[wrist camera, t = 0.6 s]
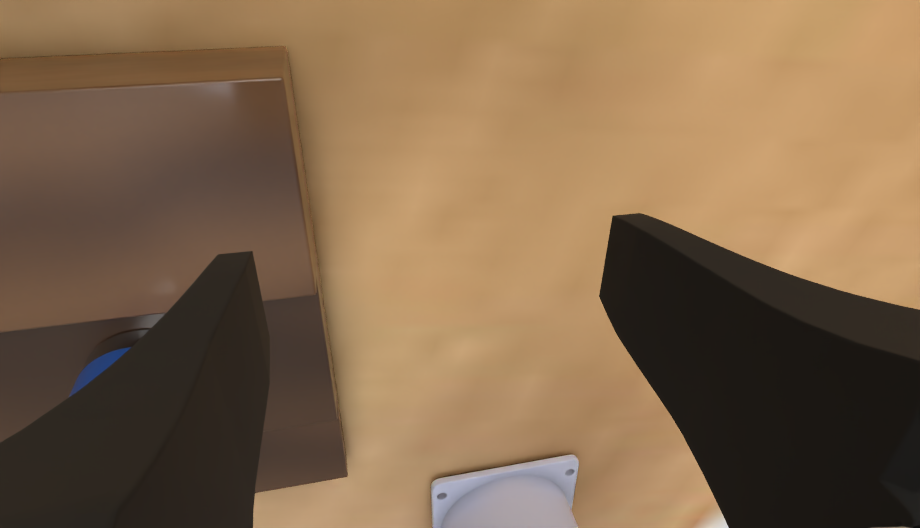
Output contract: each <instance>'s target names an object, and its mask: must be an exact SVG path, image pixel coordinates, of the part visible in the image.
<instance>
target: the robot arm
mask: <svg viewBox="0 0 920 528" xmlns="http://www.w3.org/2000/svg"><path fill="white" fill-rule="evenodd" d="M599 297H600V299H601V302H602V304H603V306H604V308H605V311H606V313H607V315H608V317H609V319H610V321H611V323H612V326H613V328H614V330H615V332H616V334H617V335H618V337H619V339H620V340H621V342H622V343H623V345H624V346H625V348H626V349H627V351H628V352H629V354H630V355H631V357H632V358H633V360H634V361H635V363H636V364H637V366H638V367H639V369H640V370H641V372H642V373H643V375H644V376H645V378H646V379H647V381H648V382H649V384H650V385H651V387H652V388H653V389H654V391H655V392H656V394H657V395H658V397H659V398H660V400H661V401H662V403H663V404H664V406H665V407H666V409H667V410H668V412H669V413H670V415H671V416H672V418H673V419H674V421H675V423H676V424H677V426H678V428H679V429H680V431H681V433H682V434H683V436H684V438H685V440H686V442H687V444H688V446H689V448H690V450H691V451H692V453H693V455H694V457H695V459H696V461H697V463H698V465H699V467H700V469H701V470H702V472H703V474H704V476H705V478H706V481H707V483H708V485H709V487H710V489H711V491H712V493H713V495H714V497H715V499H716V501H717V503H718V505H719V507H720V510H721V512H722V514H723V516H724V518H725V520H726V522H727V525H728V527H729V528H920V310H918V309H913V308H908V307H903V306H899V305H895V304H891V303H887V302H882V301H878V300H874V299H870V298H866V297H862V296H858V295H854V294H851V293H847V292H844V291H840V290H837V289H833V288H830V287H827V286H824V285H821V284H818V283H814V282H811V281H808V280H805V279H802V278H799V277H796V276H793V275H790V274H787V273H785V272H782V271H779V270H777V269H774V268H771V267H769V266H766V265H764V264H761V263H759V262H756V261H753V260H751V259H749V258H746V257H744V256H741V255H739V254H737V253H734V252H732V251H730V250H727V249H725V248H723V247H720V246H718V245H716V244H714V243H711V242H709V241H707V240H705V239H702V238H700V237H698V236H696V235H693V234H691V233H689V232H687V231H684V230H682V229H680V228H678V227H675V226H673V225H671V224H668V223H666V222H663V221H661V220H658V219H656V218H653V217H650V216H647V215H644V214H640V213H638V214H627V215H617V216H613V217H612V223H611V229H610V235H609V241H608V247H607V253H606V259H605V265H604V271H603V277H602V283H601V289H600V295H599ZM269 384H270V335H269V330H268V326H267V321H266V316H265V311H264V306H263V301H262V296H261V291H260V286H259V281H258V276H257V271H256V266H255V261H254V256H253V251H246V252H236V253H226V254H218V255H217V256H216V257H215V258H214V259H213V261H212V262H211V263H210V264H209V265H208V266H207V267H206V268H205V270H204V271H203V272H202V273H201V274H200V275H199V277H198V278H197V279H196V280H195V281H194V282H193V284H192V285H191V286H190V287H189V288H188V289H187V290H186V292H185V293H184V294H183V295H182V296H181V297H180V298H179V299H178V301H177V302H176V303H175V304H174V305H173V306H172V307H171V308H170V309H169V310H168V312H167V313H166V314H165V315H164V316H163V317H162V318H161V319H160V320H159V321H158V322H157V323H156V324H155V325H154V326H153V327H152V328H151V329H150V330H149V331H148V332H147V333H146V334H145V335H144V336H143V337H141V338H140V339H139V340H138V341H137V342H136V343H135V344H134V345H133V346H132V347H131V348H130V349H129V350H128V351H127V352H126V353H124V354H123V355H122V356H121V357H120V358H119V359H118V360H116V361H115V362H114V363H113V364H112V365H111V366H109V367H108V368H107V369H106V370H104V371H103V372H102V373H100V374H99V375H98V376H97V377H95V378H94V379H93V380H92V381H90V382H89V383H88V384H87V385H85V386H84V387H83V388H81V389H80V390H79V391H77V392H76V393H75V394H73V395H72V396H70V397H69V398H67V399H66V400H64V401H63V402H61V403H60V404H58V405H57V406H56V407H54V408H53V409H51V410H50V411H48V412H47V413H45V414H44V415H42V416H41V417H40V418H38V419H37V420H35V421H34V422H32V423H31V424H29V425H28V426H26V427H25V428H23V429H22V430H20V431H19V432H17V433H15V434H14V435H12V436H10V437H9V438H7V439H5V440H4V441H2V442H0V528H253V506H254V495H255V485H256V478H257V470H258V463H259V456H260V449H261V442H262V435H263V428H264V421H265V414H266V407H267V399H268V392H269ZM578 468H579V461H578V459H577V457H576V456H575V455H565V456H559V457H554V458H548V459H543V460H537V461H532V462H526V463H520V464H515V465H509V466H504V467H498V468H493V469H487V470H482V471H476V472H471V473H465V474H460V475H454V476H449V477H443V478H439V479H436V480H434V481H433V482H432V484H431V507H432V528H579V527H578V525H577V523H576V520H575V518H574V516H573V513H572V511H571V509H572V503H573V497H574V491H575V485H576V480H577V474H578Z"/></svg>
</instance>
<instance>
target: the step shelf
mask: <svg viewBox="0 0 920 528" xmlns="http://www.w3.org/2000/svg"><path fill="white" fill-rule="evenodd" d="M246 251H253V256H254V261H255V266H256V271H257V276H258V281H259V286H260V291H261V296H262V301H263V306H264V311H265V316H266V321H267V326H268V330H269V335H270V384H269V392H268V399H267V407H266V414H265V421H264V428H263V435H262V442H261V449H260V456H259V463H258V470H257V478H256V485H255V493H258V492H263V491H269V490H275V489H281V488H286V487H292V486H298V485H303V484H309V483H315V482H320V481H326V480H332V479H338V478H343V477H347V476H348V473H347V460H346V452H345V445H344V438H343V431H342V424H341V417H340V410H339V403H338V397H337V390H336V383H335V376H334V369H333V362H332V355H331V348H330V341H329V335H328V328H327V321H326V314H325V307H324V300H323V293H322V286H321V279H320V273H319V266H318V259H317V252H316V245H315V238H314V232H313V225H312V218H311V211H310V204H309V197H308V190H307V183H306V176H305V170H304V163H303V156H302V149H301V142H300V135H299V128H298V121H297V114H296V107H295V101H294V94H293V87H292V80H291V73H290V66H289V59H288V52H287V48H286V47H284V46H275V47H253V48H231V49H208V50H186V51H163V52H141V53H118V54H96V55H74V56H51V57H29V58H6V59H0V442H2V441H4V440H5V439H7V438H9V437H10V436H12V435H14V434H15V433H17V432H19V431H20V430H22V429H23V428H25V427H26V426H28V425H29V424H31V423H32V422H34V421H35V420H37V419H38V418H40V417H41V416H42V415H44V414H45V413H47V412H48V411H50V410H51V409H53V408H54V407H56V406H57V405H58V404H60V403H61V402H63V401H64V400H66V399H67V398H68V397H69V395H70V393H71V391H72V389H73V386H74V384H75V382H76V380H77V378H78V376H79V374H80V373H81V371H82V369H83V366H84V364H85V362H86V360H87V358H88V356H89V355H90V353H91V352H92V351H93V350H94V349H95V348H96V347H97V346H98V345H100V344H101V343H102V342H104V341H106V340H107V339H109V338H111V337H113V336H116V335H118V334H121V333H125V332H129V331H135V330H145V329H151V328H152V327H153V326H154V325H155V324H156V323H157V322H158V321H159V320H160V319H161V318H162V317H163V316H164V315H165V314H166V313H167V312H168V310H169V309H170V308H171V307H172V306H173V305H174V304H175V303H176V302H177V301H178V299H179V298H180V297H181V296H182V295H183V294H184V293H185V292H186V290H187V289H188V288H189V287H190V286H191V285H192V284H193V282H194V281H195V280H196V279H197V278H198V277H199V275H200V274H201V273H202V272H203V271H204V270H205V268H206V267H207V266H208V265H209V264H210V263H211V262H212V261H213V259H214V258H215V257H216V256H217V255H218V254H226V253H236V252H246Z"/></svg>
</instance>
